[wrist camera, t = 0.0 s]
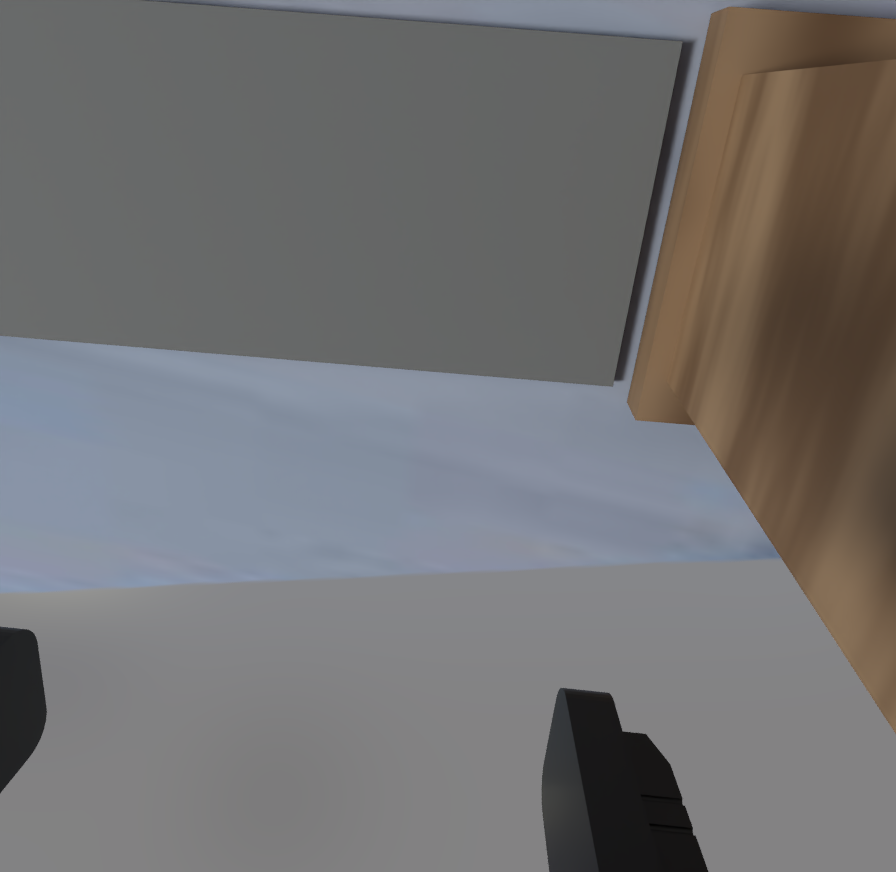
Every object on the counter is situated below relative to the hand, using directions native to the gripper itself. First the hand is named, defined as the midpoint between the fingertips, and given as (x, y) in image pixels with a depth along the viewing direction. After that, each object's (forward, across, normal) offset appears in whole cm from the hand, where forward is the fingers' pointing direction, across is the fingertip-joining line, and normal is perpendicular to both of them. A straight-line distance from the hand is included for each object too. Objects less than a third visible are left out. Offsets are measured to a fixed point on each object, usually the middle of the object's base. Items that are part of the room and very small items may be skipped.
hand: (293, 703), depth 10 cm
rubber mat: (+22, +12, -7) cm, 26 cm away
